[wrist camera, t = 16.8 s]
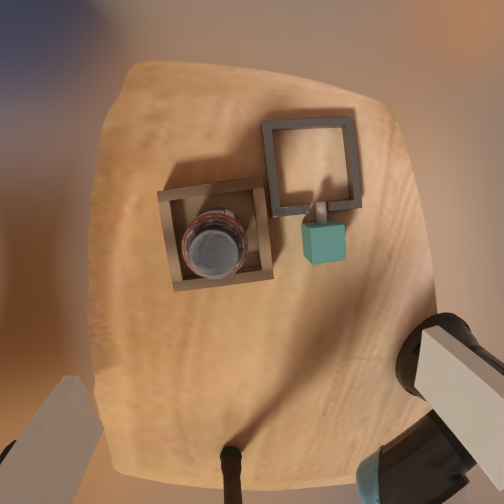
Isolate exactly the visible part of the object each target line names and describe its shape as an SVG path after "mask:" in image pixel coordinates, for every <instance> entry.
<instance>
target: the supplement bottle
mask: <svg viewBox="0 0 504 504" xmlns="http://www.w3.org/2000/svg"><path fill="white" fill-rule="evenodd" d="M182 253H183V257H184V259H185V261H186V263H187V265H188V266H189V267H190V268H191V270H192V271H194V272H195V273H196V274H198V275H200V276H202V277H204V278H208V279H222V278H226V277H228V276H231V275H232V274H234V273H235V272H237V271H238V270H239V269H240V267H241V266H242V265H243V264H244V262H245V259H246V257H247V254H248V239H247V235H246V233H245V231H244V228H243V225H242V223H241V221H240V219H239V218H238V217H237V215H235V214H234V213H233V212H231V211H230V210H228V209H225V208H221V207H214V208H209V209H207V210H204V211H203V212H201V213H200V214H199V215H198V216H197V217H196V218H195V219H194V220H193V221H192V222H191V224H190V225H189V226H188V228H187V229H186V231H185V233H184V236H183V239H182Z"/></svg>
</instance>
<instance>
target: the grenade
mask: <svg viewBox="0 0 504 504" xmlns="http://www.w3.org/2000/svg"><path fill="white" fill-rule="evenodd" d="M241 459H242V455H241V452H240V451H239V450H238V449H237V448H234V447H227V448H224V449H223V450H222V451H221V453H220V460H221V470H222V473H223V480H224V504H242V494H241V481H240V474H241Z"/></svg>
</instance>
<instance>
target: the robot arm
mask: <svg viewBox="0 0 504 504" xmlns="http://www.w3.org/2000/svg"><path fill="white" fill-rule="evenodd" d="M396 377H397V380H398V382H399V383H400V384H401V385H402V387H403V388H404V389H405V390H406V391H407V392H408V393H410V394H412V395H414V396H418V397H420V398H421V399H423V400H424V401H426V402H428V403H429V404H430V405H431V407H432V408H433V409H432V410H431V411H430V412H428V413H427V414H426V415H425V416H423V417H422V418H421V419H420V420H418V421H417V422H416V423H415V424H413V425H412V426H411V427H409V428H408V429H407V430H405V431H404V432H403V433H401V434H400V435H399V436H397V437H396V438H394V439H393V440H392V441H390V442H389V443H387V444H386V445H382V446H381V447H379V449H378V450H377V451H376V452H374V453H373V454H371V455H370V456H369V457H367V458H366V459H364V460H363V461H362V462H361V463H360V465H359V466H358V468H357V472H356V484H357V489H358V493H359V497H360V500H361V503H362V504H470V502H469V501H468V499H467V495H468V492H469V489H470V485H471V482H470V481H469V479H468V478H467V477H466V475H465V474H466V473H467V472H468V471H469V470H470V469H471V468H473V467H474V466H475V465H476V464H477V463H478V464H479V466H480V467H481V468H482V469H483V471H484V472H485V473H486V475H487V476H488V477H489V478H490V480H491V481H492V482H493V484H494V485H495V486H496V487H497V489H498V490H499V491H501V490H503V489H504V363H503V362H501V361H500V360H499V359H497V358H496V357H495V356H493V355H492V354H491V353H489V352H488V351H486V350H485V349H484V348H482V347H481V346H480V345H479V344H478V342H477V340H476V338H475V337H474V336H473V334H472V333H471V331H470V328H469V326H468V325H467V323H466V322H465V321H464V320H462V319H461V318H460V317H458V316H457V315H455V314H453V313H440V314H436V315H434V316H432V317H430V318H428V319H427V320H425V321H424V322H423V323H421V324H420V325H419V326H418V327H417V328H416V329H415V330H414V331H413V332H412V333H411V335H410V336H409V337H408V339H407V340H406V341H405V343H404V345H403V347H402V348H401V350H400V353H399V355H398V358H397V362H396ZM103 430H104V427H103V425H102V423H101V421H100V419H99V417H98V415H97V413H96V411H95V409H94V407H93V405H92V403H91V401H90V399H89V397H88V395H87V392H86V390H85V388H84V385H83V383H82V381H81V379H80V376H64V377H63V378H62V380H61V381H60V382H59V383H58V385H57V386H56V387H55V389H54V390H53V391H52V393H51V394H50V395H49V397H48V398H47V399H46V401H45V402H44V403H43V405H42V406H41V407H40V409H39V410H38V411H37V413H36V414H35V416H34V417H33V418H32V420H31V421H30V422H29V424H28V425H27V427H26V428H25V429H24V431H23V432H22V434H21V435H20V437H19V438H18V439H17V440H14V441H13V442H12V443H11V444H9V445H8V446H7V447H6V448H5V449H4V451H3V452H2V453H1V455H0V504H72V502H73V500H74V497H75V495H76V492H77V490H78V487H79V485H80V482H81V480H82V477H83V475H84V473H85V470H86V468H87V466H88V463H89V461H90V459H91V456H92V454H93V452H94V449H95V447H96V445H97V443H98V441H99V438H100V436H101V434H102V432H103Z"/></svg>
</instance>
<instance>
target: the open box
mask: <svg viewBox="0 0 504 504" xmlns="http://www.w3.org/2000/svg"><path fill="white" fill-rule="evenodd" d="M157 195H158V202H159V209H160V215H161V222H162V228H163V234H164V240H165V246H166V251H167V257H168V262H169V268H170V273H171V278H172V283H173V288H174V292H178V291H186V290H194V289H202V288H210V287H218V286H226V285H233V284H241V283H248V282H256V281H263V280H270V279H274V275H273V266H272V256H271V246H270V237H269V228H268V219H267V210H266V201H265V192H264V183H263V177H255V178H247V179H239V180H231V181H223V182H215V183H208V184H201V185H194V186H188V187H181V188H175V189H169V190H163V191H157ZM214 207H221V208H225V209H228V210H230V211H231V212H233V213H234V214H235V215H237V217H238V218H239V219H240V221H241V223H242V225H243V228H244V231H245V233H246V235H247V239H248V254H247V257H246V259H245V262H244V264H243V265H242V266H241V267H240V269H239V270H238V271H237V272H235V273H234V274H232V275H231V276H228V277H226V278H222V279H208V278H204V277H202V276H200V275H198V274H196V273H195V272H194V271H192V270H191V268H190V267H189V266H188V265H187V263H186V261H185V259H184V257H183V253H182V239H183V236H184V233H185V231H186V229H187V228H188V226H189V225H190V224H191V222H192V221H193V220H194V219H195V218H196V217H197V216H198V215H199V214H200V213H201V212H203V211H204V210H207V209H209V208H214Z"/></svg>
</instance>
